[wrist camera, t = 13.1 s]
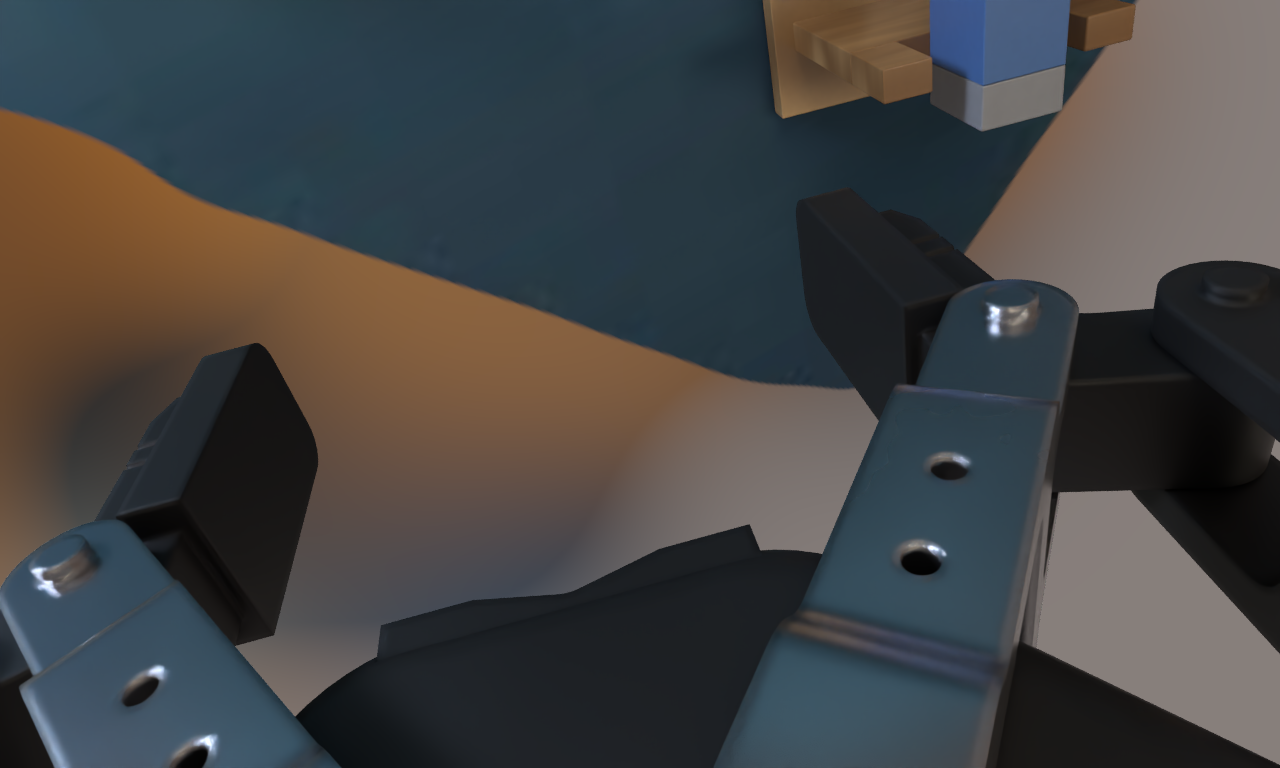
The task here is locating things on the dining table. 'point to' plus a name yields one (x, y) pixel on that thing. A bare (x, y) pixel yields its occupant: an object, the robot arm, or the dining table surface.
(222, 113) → the dining table surface
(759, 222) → the dining table surface
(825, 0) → the holder
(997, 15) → the handle
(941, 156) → the dining table surface
